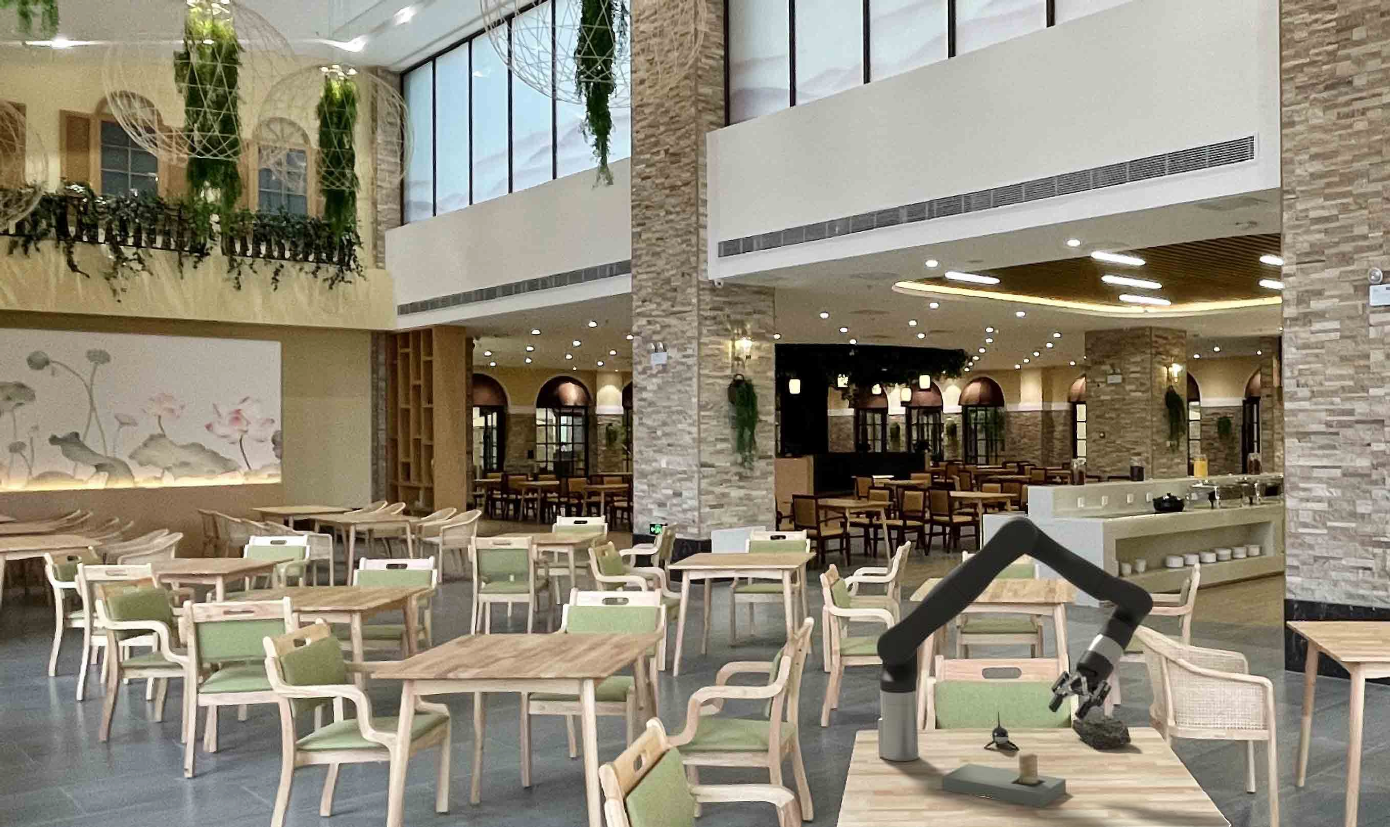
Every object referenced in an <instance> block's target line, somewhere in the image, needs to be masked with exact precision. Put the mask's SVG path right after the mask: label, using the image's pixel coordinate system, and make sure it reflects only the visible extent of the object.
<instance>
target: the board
mask: <svg viewBox="0 0 1390 827" xmlns="http://www.w3.org/2000/svg"><path fill="white" fill-rule="evenodd" d="M1066 781H1067V779H1066V778H1061V777H1054V776H1048V775H1042V774H1038V783H1039V784H1038V786H1037V787H1030V786H1024V785H1020V784H1019V770H1018V771H1017V770H1011V769H1005V768H1000V767H999V768H998V767H993V766H987V765H980V764H974V763H969V762H968V763H966V764H964V765H963V766H961V767H959V768H957V769H955V770H953V771H950V772H949V773H947V774H945V775H943V776H941V790H942V791H946V790H948V792H951V791H953V792H952V793H957V792H959V794H962V793H964V795H968V794H972V795H971V796H973V795H977V796H976V797H979V796H985V797H989V798H988V799H990V798H994V799H993V800H996V799H998V800H997V801H1001V800H1003V801H1002V802H1007V801H1008V803H1013V804H1019V805H1024V806H1028V807H1029V806H1030V807H1035V808H1040V809H1042V808H1044V807H1045V806H1047V805H1048V804H1050V803H1052V802H1054V801H1055V800H1057V799H1058V798H1060V797H1061V796H1063V795H1064V794H1065V793H1067V787H1066V785H1067V783H1066ZM985 797H984V798H985Z"/></svg>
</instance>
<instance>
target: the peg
mask: <svg viewBox="0 0 1390 827" xmlns="http://www.w3.org/2000/svg"><path fill="white" fill-rule="evenodd" d="M1018 772H1019V784H1020V785H1024V786H1030V787H1037V786H1038V784H1039V783H1038V775H1039V774H1038V755H1037V754H1034V753H1029V752H1023V753H1019V754H1018Z"/></svg>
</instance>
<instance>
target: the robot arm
mask: <svg viewBox="0 0 1390 827" xmlns="http://www.w3.org/2000/svg"><path fill="white" fill-rule="evenodd" d="M1024 555H1025V556H1027V557H1030V558H1033V559H1034V560H1036V561H1039V562H1041V563H1043V564H1044V565H1046V567H1049V568H1050V569H1052V570H1053V571H1055V573H1056V574H1058V575H1059V576H1061V577H1062V578H1064V579H1065V580H1066V581H1067V582H1069V584H1072V585H1073V586H1074V587H1076V588H1077V589H1079V590H1080V591H1082V592H1084V593H1085V594H1087V595H1088V596H1090V597H1092V598H1093V599H1095V600H1097V601H1100V602H1104V601H1105V602H1107V601H1109V602H1111V603H1113V604H1115V606H1114V608H1113V609H1112V611H1111V613H1110V615H1109V617H1108V619H1107V620H1106V621H1105V623H1103V625H1102V627H1101V628H1100V629H1099V631H1098V632H1097V634H1096V635H1095V637H1094V638H1093V639H1092V640H1091V641H1090V643H1089V645H1088V646H1087V648H1086V649H1085V650H1084V652H1083V654H1082V655H1081V656H1080V658H1079V660H1078V661H1077V663H1076V664H1075V666H1076V668H1075V669H1076V670H1075V672H1074V673H1072V674H1070V673H1069V672H1067V670H1064V671H1062V672H1061V674H1060V675H1059V677H1058V678H1057V679H1056V681H1055V682H1054V684H1053V685H1052V686H1051V688H1050V690H1051V692H1052V693H1053V694H1054V696H1053V697H1052V699H1051V701H1050V702H1049V704H1048V709H1049V711H1051V712H1052V713H1057V712H1058V710H1059V709H1060V707H1061V705H1062V704H1063V702H1064V700H1065V699H1068V698H1069V697H1071V698H1072V697H1075V696H1082V697H1083V700H1084V701H1081V703H1080V704H1079V706H1078V708H1077V709H1076V710H1075V713H1074V716H1076V718H1077V719H1080V720H1082V719H1085V718H1086V716H1087V715H1088V713H1089V712H1090V711H1091V709H1093V708H1094V707H1097V708H1100V707H1102V705H1104V704H1103V703H1104V702H1105V700H1106V698H1107V697H1108V695H1109V693H1110V691H1111V690H1112V686H1111V684H1110V683H1109V682H1107V681H1108V679H1109V678H1110V677H1111V675H1112V673H1113V671H1114V670H1115V669H1116V667H1117V665H1118V664H1119V662H1120V660H1121V659H1122V655H1123V654H1124V653H1125V651H1126V649H1127V647H1128V646H1129V644H1130V643H1131V641H1132V639H1133V637H1134V633H1135V632H1136V630H1137V629H1138V627H1139V626H1140V625H1141V623H1142V622H1143V621H1144V620H1145V619H1146V617H1147V616H1148V615H1149V614H1150V613H1151V612H1152V610H1153V609H1154V600H1153V598H1152V597H1153V596H1152V595H1151V594H1150V592H1148V591H1147V590H1146V589H1144V588H1143V587H1141V586H1139V585H1138V584H1135V583H1133V582H1130V581H1128V580H1125V579H1122V578H1120V577H1116V576H1114V575H1112V574H1111V573H1109V572H1108V571H1106V570H1104V569H1102V568H1101V567H1099V566H1097V565H1096V564H1094V563H1092V562H1091V561H1089V560H1087V559H1085V558H1084V557H1082V556H1080V555H1079V554H1076V553H1074V552H1073V551H1071V550H1070V549H1068V548H1066V547H1064V546H1063V545H1061V543H1059V542H1057V541H1055V540H1054V539H1053V538H1052V537H1051V536H1049V535H1048V534H1047V533H1046V532H1044V531H1043V530H1042V529H1041V528H1039V526H1037V525H1036V524H1035V523H1034V522H1033V521H1032V520H1031V519H1030V518H1027V517H1024V516H1018V515H1017V516H1012V517H1010V518H1008V519H1007V520H1006V521H1004V522H1003V523H1002V525H1001V526H999V529H998V530H997V531H996V532H995V534H993V536H992V537H991V538H990V539H989V540H988V541H987V543H985V544H984V545H983V547H981V548H980V549H979V550H978V551H977V552H976V553H974V554H973V555H971V556H970V557H968V558H966V559H965V560H964V561H962V562H961V563H960V564H958V565H957V566H955V567H954V568H953V569H952V570H951V571H949V572H948V574H946V575H945V576H944V577H943V578H942V579H940V580H939V581H938V582H937V583H936V585H934V586H933V587H932V588H931V590H930V591H929V592H927V593H926V595H925V596H924V597H923V598H922V599H921V601H920V602H919V603H918V604H917V605H916V606H915V608H914V609H913V610H911V612H910V613H909V614H907V615H906V616H905V617H904V618H902V619H901V620H900V621H899V622H897V623H896V624H894V625H892V626H890V627H889V628H887V629H886V630H884V631H883V632H882V633H881V634H880V636H879V638H878V640H877V643H876V652H877V656H878V657H879V659H880V660H881V661H882V664H881V675H880V679H879V684H880V685H879V687H880V688H879V690H880V692H879V693H880V718H878V720H877V731H878V732H877V735H878V736H877V737H878V738H877V739H878V740H877V741H878V757H881V758H884V759H885V760H888V761H895V762H907V761H908V762H909V761H914V760H917V759H918V758H919V732H918V730H919V729H918V728H919V726H918V725H919V724H918V723H919V722H918V696H917V695H918V692H917V691H918V690H917V689H918V688H917V685H918V684H917V682H918V674H919V672H918V670H919V663H918V662H919V661H918V659H919V658H918V657H919V655H918V654H919V653H918V652H919V650H918V648H919V647H920V646H921V645H922V644H923V643H924V642H925V641H926V639H928V638H929V637H930V636H931V635H932V634H933V633H934V632H936V631H938V630H939V629H940V628H942V627H944V626H945V625H947V624H948V623H949V622H951V621H953V620H954V618H956V617H957V616H959V615H960V614H961V613H963V612H964V611H965V610H966V609H967V608H968V607H969V606H970V605H971V604H973V603H974V602H975V601H976V600H977V599H978V598H979V597H980V596H981V595H982V593H983V592H985V591H986V589H987V588H988V587H989V586H990V585H991V584H992V582H993V581H994V580H995V579H996V577H997V576H998V575H999V574H1000V573H1001V572H1003V571H1004V570H1005V569H1006V568H1007V567H1009V566H1010V565H1011V564H1013V563H1014V562H1016V561H1017V560H1019V559H1020V558H1021V557H1023V556H1024ZM1069 687H1070V688H1069Z"/></svg>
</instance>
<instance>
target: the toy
mask: <svg viewBox="0 0 1390 827" xmlns="http://www.w3.org/2000/svg"><path fill="white" fill-rule="evenodd" d="M991 735H992V736H991V737H992V739H993V740H992V741H991V742H989V743H987V744H986V745H985V746H984V747H983V748H984V749H986V748H988V747H990V746H992V745H993V744H998V745H1004V744H1005V743H1007V744H1009V745H1010V746H1011V747H1013V748H1015V749H1017V750H1020V748H1019V747H1018V746H1017V745H1016V744H1014V743H1013V742H1011V741H1010V740H1009V732H1008V731H1007V729H1005V728H1004V727H1002V726H1001V722H1000V712H999V711H997V727H995V728H993V730H992V733H991Z"/></svg>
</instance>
